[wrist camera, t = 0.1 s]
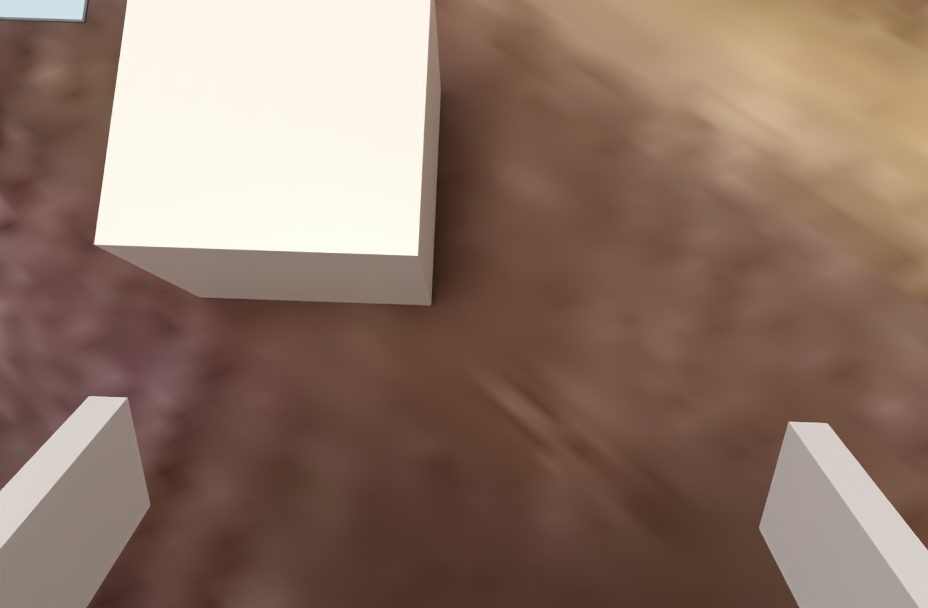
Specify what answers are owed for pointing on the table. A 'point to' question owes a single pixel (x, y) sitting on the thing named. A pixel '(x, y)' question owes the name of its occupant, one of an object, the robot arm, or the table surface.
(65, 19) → the plain pale blue panel
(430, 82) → the plain cream cube
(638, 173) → the table surface
